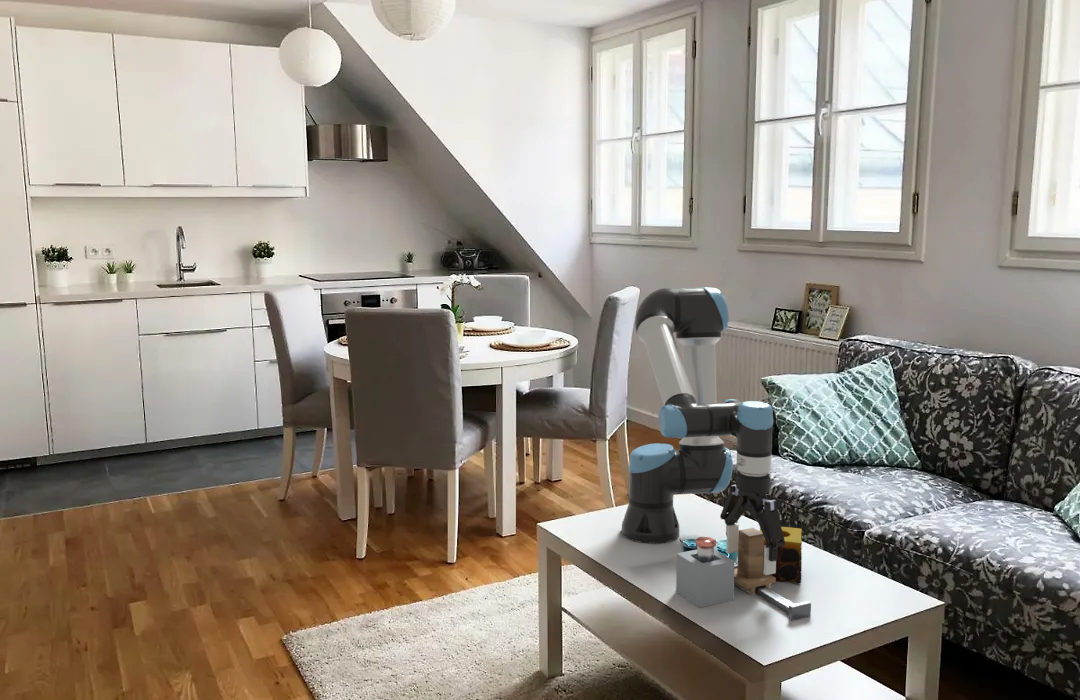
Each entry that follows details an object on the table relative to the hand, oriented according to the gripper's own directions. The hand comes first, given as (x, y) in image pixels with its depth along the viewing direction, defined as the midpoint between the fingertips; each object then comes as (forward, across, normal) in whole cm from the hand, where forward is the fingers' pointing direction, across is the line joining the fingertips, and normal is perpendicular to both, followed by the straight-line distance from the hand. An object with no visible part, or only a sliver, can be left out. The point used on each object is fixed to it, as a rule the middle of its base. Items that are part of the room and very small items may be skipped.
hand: (750, 562), depth 201 cm
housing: (+6, 0, -12) cm, 13 cm away
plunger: (-3, 0, -12) cm, 12 cm away
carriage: (+6, 0, 0) cm, 6 cm away
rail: (+6, +6, 0) cm, 8 cm away
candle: (+6, -3, +11) cm, 13 cm away
